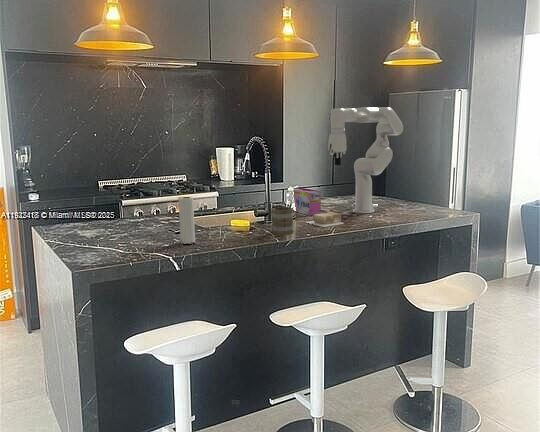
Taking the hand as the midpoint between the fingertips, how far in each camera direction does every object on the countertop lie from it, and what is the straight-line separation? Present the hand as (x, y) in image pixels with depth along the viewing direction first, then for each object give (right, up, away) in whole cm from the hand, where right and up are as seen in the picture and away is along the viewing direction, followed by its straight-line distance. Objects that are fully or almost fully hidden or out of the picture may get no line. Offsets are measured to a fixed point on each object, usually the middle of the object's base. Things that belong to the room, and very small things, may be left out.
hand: (337, 165), depth 299 cm
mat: (-9, -32, -13) cm, 36 cm away
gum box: (-17, -26, +22) cm, 38 cm away
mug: (-32, -36, -32) cm, 58 cm away
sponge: (-2, -29, -9) cm, 30 cm away
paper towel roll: (-75, -41, -54) cm, 101 cm away
